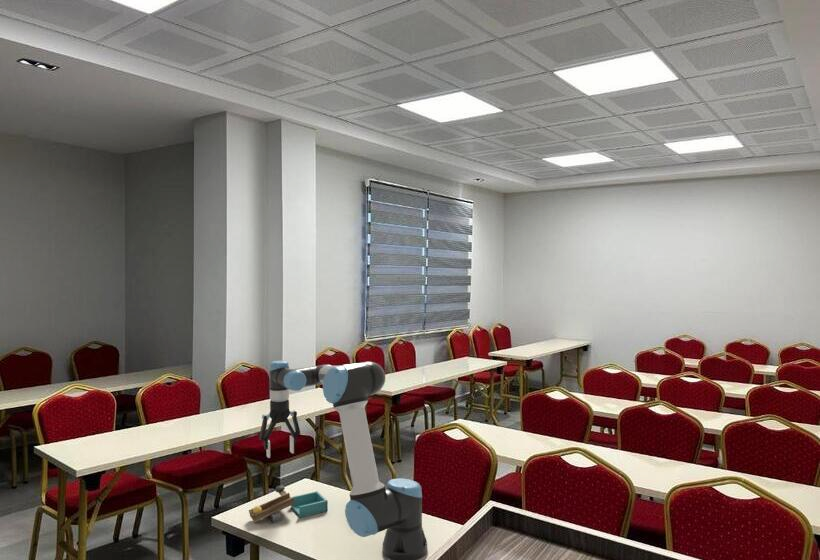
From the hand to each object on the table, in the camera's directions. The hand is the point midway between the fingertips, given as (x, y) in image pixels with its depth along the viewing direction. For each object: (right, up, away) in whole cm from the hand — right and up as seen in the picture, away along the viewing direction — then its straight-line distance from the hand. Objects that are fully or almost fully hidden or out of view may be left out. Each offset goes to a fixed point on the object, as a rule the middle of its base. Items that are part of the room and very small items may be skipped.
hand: (280, 454), depth 226 cm
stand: (0, -20, -13) cm, 24 cm away
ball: (-5, -16, -16) cm, 23 cm away
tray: (+13, -20, -6) cm, 24 cm away
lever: (-2, -18, -8) cm, 20 cm away
